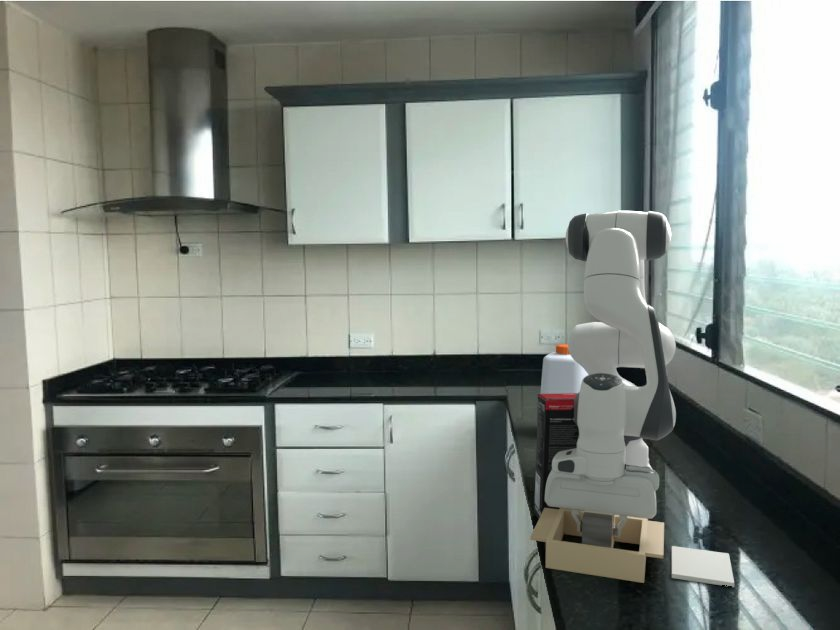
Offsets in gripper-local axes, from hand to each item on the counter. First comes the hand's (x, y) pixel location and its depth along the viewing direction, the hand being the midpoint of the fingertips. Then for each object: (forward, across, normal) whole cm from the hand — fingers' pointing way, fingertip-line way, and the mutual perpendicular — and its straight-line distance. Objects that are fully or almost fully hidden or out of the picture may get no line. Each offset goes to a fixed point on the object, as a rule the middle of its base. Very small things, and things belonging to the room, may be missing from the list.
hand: (598, 533), depth 130 cm
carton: (+4, 0, 0) cm, 4 cm away
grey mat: (+4, -18, -1) cm, 18 cm away
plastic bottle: (+5, +18, -82) cm, 84 cm away
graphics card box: (+4, +6, -16) cm, 17 cm away
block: (+3, 0, 0) cm, 3 cm away
